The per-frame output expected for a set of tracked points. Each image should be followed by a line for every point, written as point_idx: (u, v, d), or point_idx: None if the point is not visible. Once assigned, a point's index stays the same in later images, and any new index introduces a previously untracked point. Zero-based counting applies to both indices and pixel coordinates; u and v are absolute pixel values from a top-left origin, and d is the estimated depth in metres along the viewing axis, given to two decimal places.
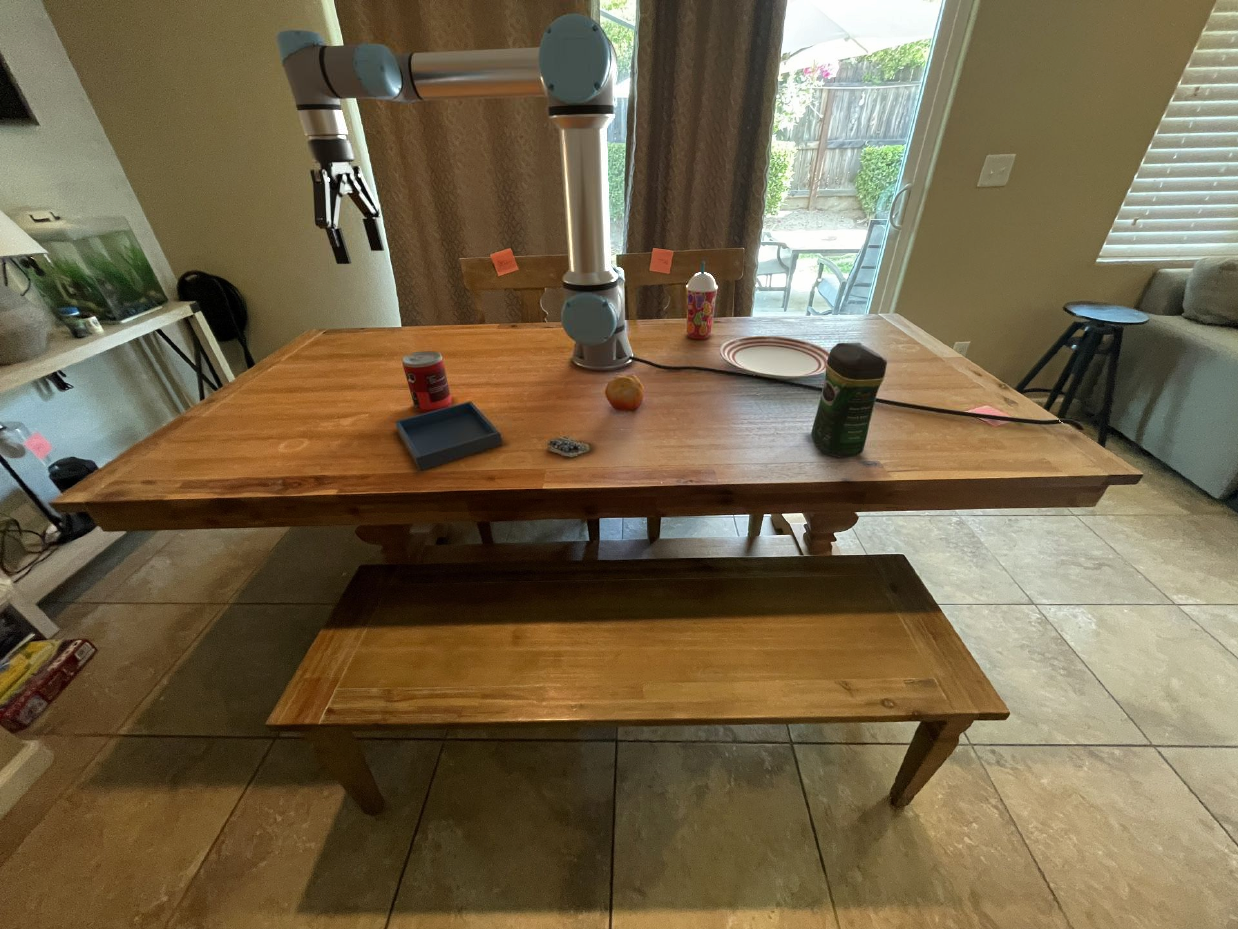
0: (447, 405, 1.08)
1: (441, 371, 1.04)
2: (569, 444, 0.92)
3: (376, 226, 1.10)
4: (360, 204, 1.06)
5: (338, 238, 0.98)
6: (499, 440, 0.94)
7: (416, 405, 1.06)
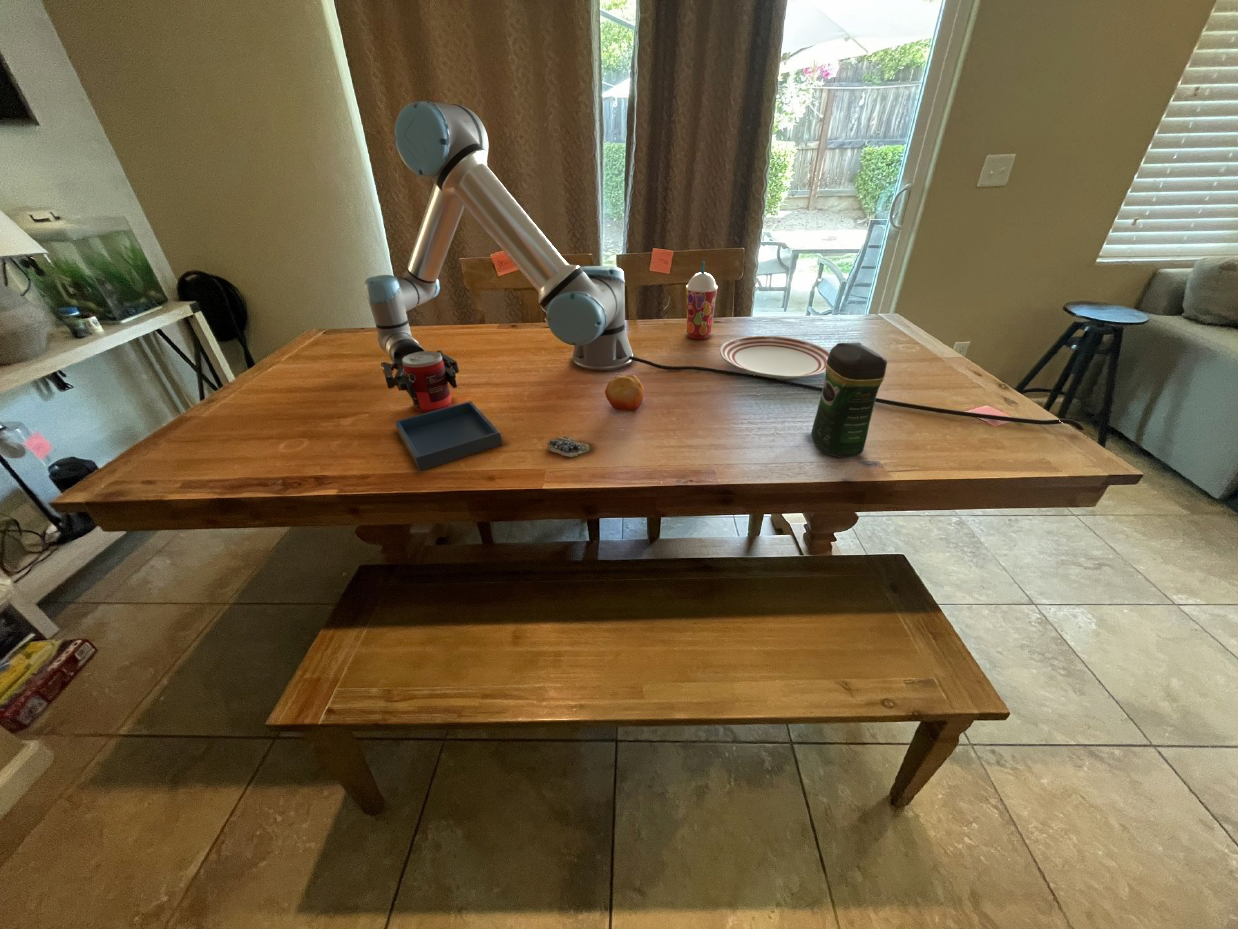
0: (447, 405, 1.08)
1: (441, 371, 1.04)
2: (569, 444, 0.92)
3: None
4: None
5: (402, 381, 1.04)
6: (499, 440, 0.94)
7: (416, 405, 1.06)
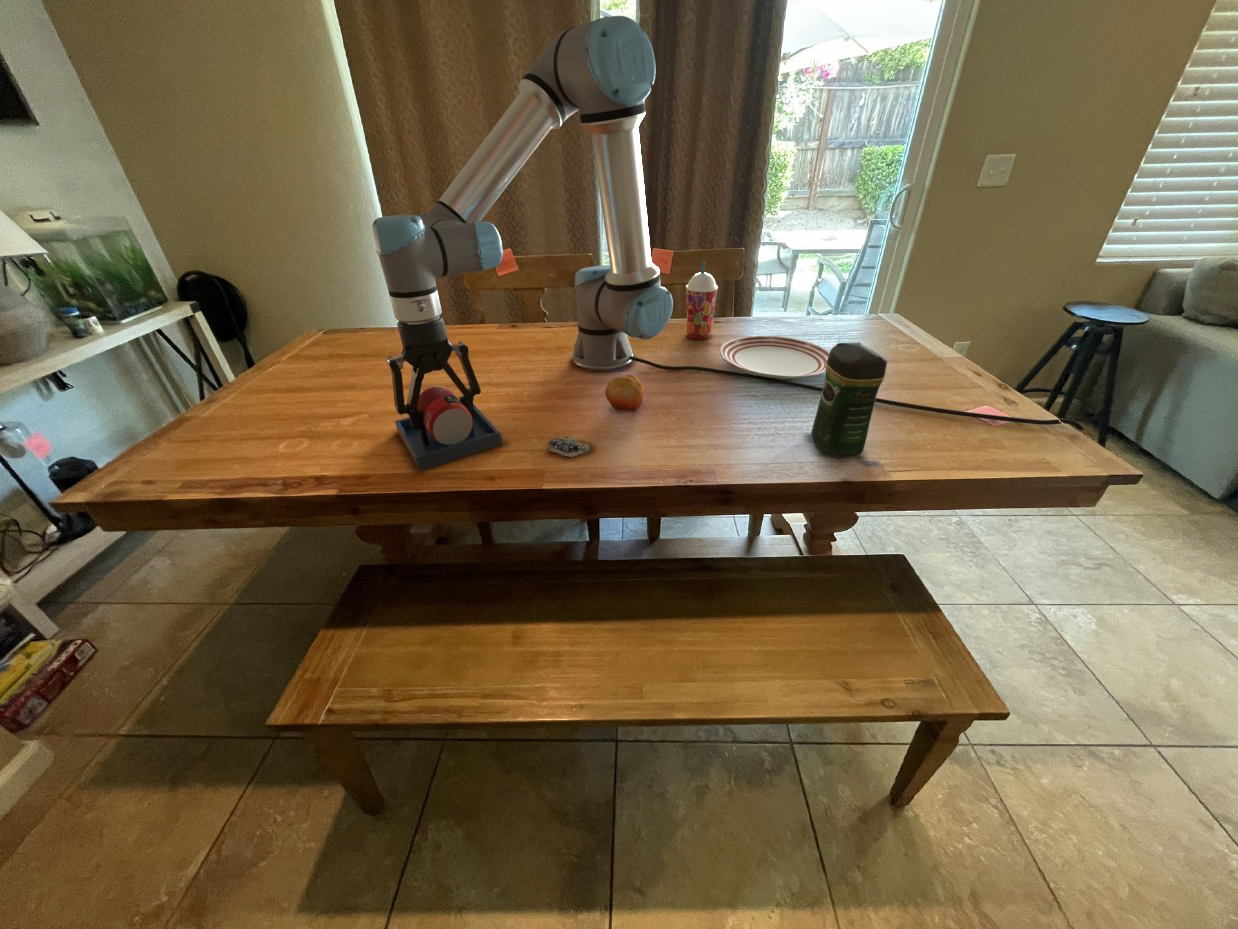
0: None
1: None
2: (569, 444, 0.92)
3: None
4: None
5: None
6: (499, 440, 0.94)
7: None
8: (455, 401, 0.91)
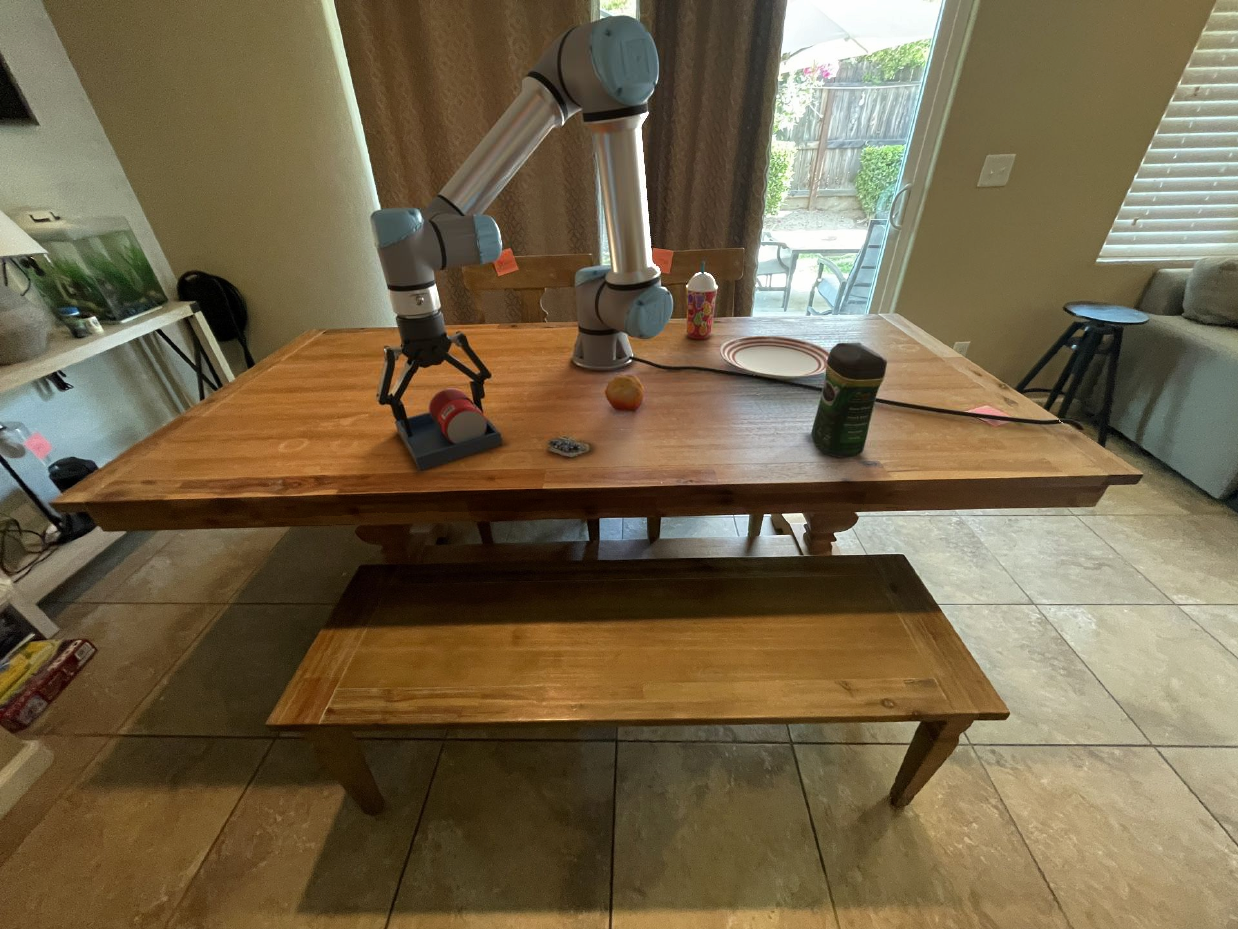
0: (448, 439, 0.91)
1: (434, 421, 0.96)
2: (569, 444, 0.92)
3: None
4: None
5: None
6: (499, 440, 0.94)
7: None
8: None
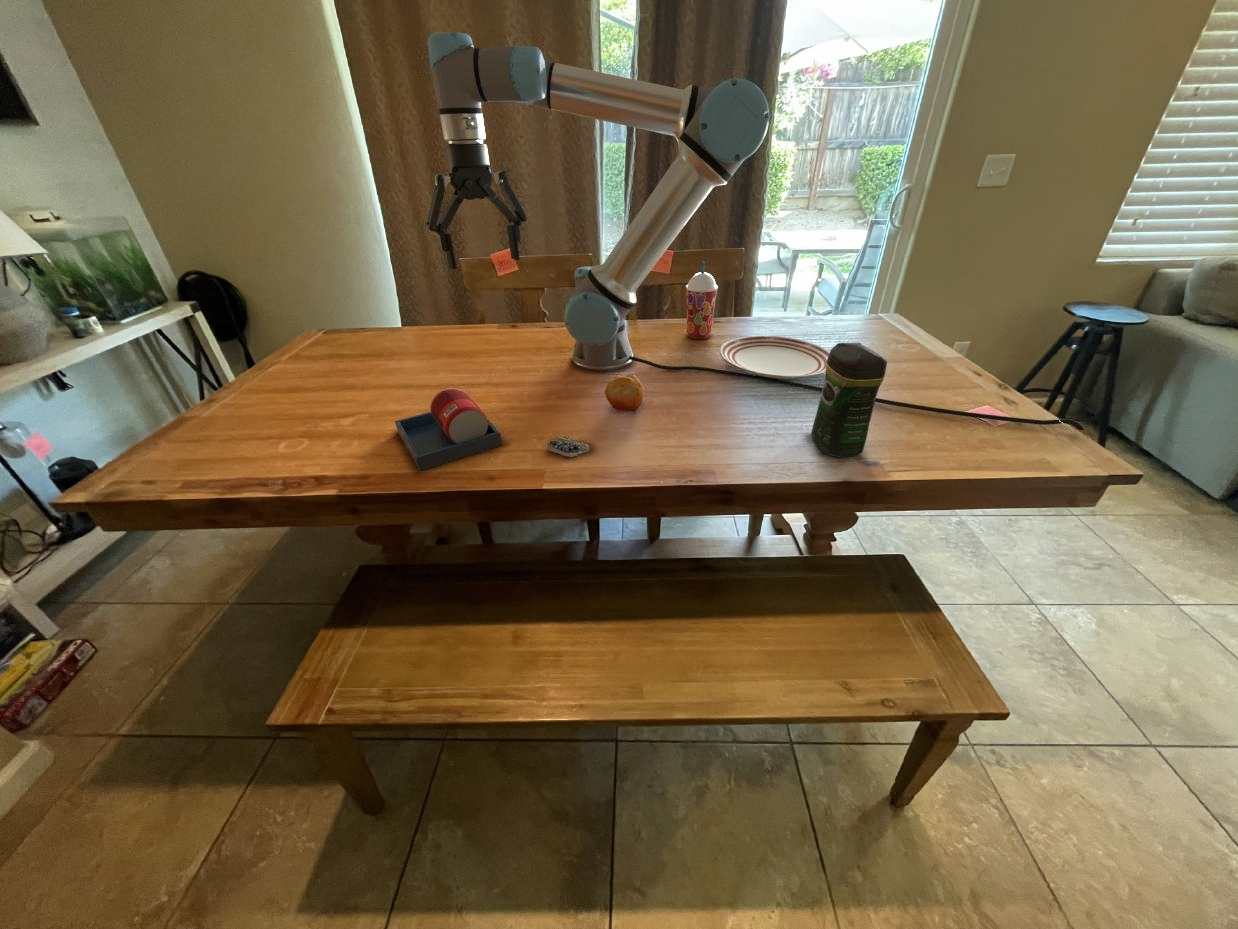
0: (449, 437, 0.91)
1: (435, 419, 0.96)
2: (569, 444, 0.92)
3: None
4: None
5: None
6: (499, 440, 0.94)
7: None
8: None
